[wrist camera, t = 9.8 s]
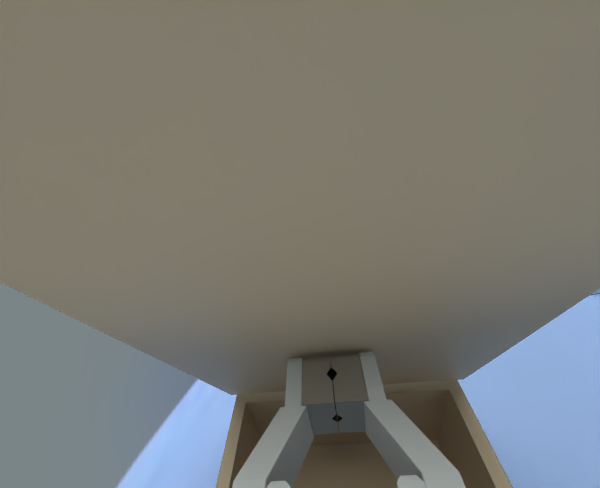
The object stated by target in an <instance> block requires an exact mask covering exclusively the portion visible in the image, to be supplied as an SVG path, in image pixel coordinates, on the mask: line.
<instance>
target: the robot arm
mask: <svg viewBox="0 0 600 488" xmlns="http://www.w3.org/2000/svg"><path fill="white" fill-rule="evenodd" d="M331 365H332V366H331ZM337 415H338V417H337ZM338 424H339V427H338ZM339 429H340V433H343V432H366V434H367V436H368V437H369V439H370V440H371V442H372V443H373V445H374V446H375V447H376V449H377V450H378V452H379V453H380V455H381V456H382V458H383V459H384V461H385V462H386V463H387V465H388V466H389V468H390V469H391V471H392V472H393V474H394V475H395V477H396V478H397V479H398V481H397V486H396V488H466V487H465V485H464V482H463V480H462V477H461V475H460V472H459V471H458V470H457V469H456V468H455V467H454V466H453V465H452V464H451V462H450V461H449V460H448V459H447V458H446V457H445V456H444V455H443V454H442V453H441V452H440V451H439V450H438V449H437V448H436V446H435V445H434V444H433V443H432V442H431V441H430V440H429V439H428V438H427V437H426V436H425V435H424V434H423V433H422V432H421V430H420V429H419V428H418V427H417V426H416V425H415V424H414V423H413V422H412V421H411V420H410V419H409V418H408V417H407V416H406V414H405V413H404V412H403V411H402V410H401V409H400V408H399V407H398V406H397V405H396V404H395V403H394V402H393V401H392V400H387V398H386V395H385V391H384V387H383V383H382V380H381V376H380V372H379V369H378V365H377V361H376V358H375V354H374V353H373V352H365V353H359V354H358V353H350V354H341V355H331V359H330V356H324V357H310V358H295V359H289V360H288V363H287V377H286V393H285V407H280V409H279V410H278V412H277V413H276V415H275V417H274V418H273V420H272V421H271V423H270V424H269V426H268V428H267V429H266V431H265V432H264V434H263V435H262V437H261V439H260V440H259V442H258V443H257V445H256V446H255V448H254V450H253V451H252V453H251V454H250V456H249V457H248V459H247V461H246V462H245V464H244V465H243V467H242V468H241V470H240V472H239V473H238V475H237V476H236V478H235V479H234V481H233V486H232V488H292V487H293V485H294V482H295V480H296V478H297V475H298V473H299V471H300V469H301V466H302V464H303V462H304V459H305V457H306V455H307V452H308V450H309V448H310V446H311V443H312V441H313V439H314V435H318V434H329V433H339Z"/></svg>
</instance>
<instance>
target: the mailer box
mask: <svg viewBox="0 0 600 488" xmlns="http://www.w3.org/2000/svg"><path fill="white" fill-rule="evenodd" d="M383 387H384V391H385V395H386V398H387V400H392V401H393V402H394V403H395V404H396V405H397V406H398V407H399V408H400V409H401V410H402V411H403V412H404V413H405V414H406V416H407V417H408V418H409V419H410V420H411V421H412V422H413V423H414V424H415V425H416V426H417V427H418V428H419V429H420V430H421V432H422V433H423V434H424V435H425V436H426V437H427V438H428V439H429V440H430V441H431V442H432V443H433V444H434V445H435V446H436V448H437V449H438V450H439V451H440V452H441V453H442V454H443V455H444V456H445V457H446V458H447V459H448V460H449V461H450V462H451V464H452V465H453V466H454V467H455V468H456V469H457V470H458V471H459V472H460V475H461V477H462V480H463V482H464V485H465V487H466V488H513V487H512V485H511V483H510V481H509V479H508V477H507V475H506V473H505V472H504V470H503V468H502V466H501V464H500V462H499V460H498V458H497V456H496V454H495V452H494V450H493V448H492V446H491V444H490V443H489V441H488V439H487V437H486V435H485V433H484V431H483V429H482V427H481V425H480V423H479V421H478V419H477V417H476V415H475V414H474V412H473V410H472V408H471V406H470V404H469V402H468V400H467V398H466V396H465V394H464V392H463V390H462V388H461V386H460V384H459V383H458V381H457V380H443V381H428V382H413V383H399V384H384V385H383ZM285 393H286V391H280V392H265V393H251V394H237V397H236V401H235V406H234V410H233V415H232V419H231V423H230V428H229V432H228V436H227V441H226V445H225V449H224V454H223V458H222V462H221V467H220V471H219V476H218V480H217V484H216V488H232V486H233V481H234V479H235V478H236V476H237V475H238V473H239V472H240V470H241V468H242V467H243V465H244V464H245V462H246V461H247V459H248V457H249V456H250V454H251V453H252V451H253V450H254V448H255V446H256V445H257V443H258V442H259V440H260V439H261V437H262V435H263V434H264V432H265V431H266V429H267V428H268V426H269V424H270V423H271V421H272V420H273V418H274V417H275V415H276V413H277V412H278V410H279V409H280V407H285ZM337 417H338V415H337ZM338 427H339V424H338ZM397 481H398V479H397V478H396V477H395V475H394V474H393V472H392V471H391V469H390V468H389V466H388V465H387V463H386V462H385V461H384V459H383V458H382V456H381V455H380V453H379V452H378V450H377V449H376V447H375V446H374V445H373V443H372V442H371V440H370V439H369V437H368V436H367V434H366V432H343V433H340V429H339V433H329V434H318V435H314V439H313V441H312V443H311V446H310V448H309V450H308V452H307V455H306V457H305V459H304V462H303V464H302V466H301V469H300V471H299V473H298V475H297V478H296V480H295V482H294V485H293V487H292V488H396V486H397Z"/></svg>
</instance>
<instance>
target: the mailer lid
mask: <svg viewBox="0 0 600 488" xmlns="http://www.w3.org/2000/svg"><path fill="white" fill-rule="evenodd" d="M0 283H2V284H4V285H6V286H8V287H10V288H13V289H15V290H17V291H19V292H21V293H23V294H25V295H27V296H29V297H31V298H33V299H35V300H37V301H39V302H41V303H44V304H46V305H48V306H50V307H52V308H54V309H56V310H58V311H60V312H62V313H64V314H66V315H68V316H70V317H72V318H74V319H76V320H78V321H80V322H83V323H85V324H87V325H89V326H91V327H93V328H95V329H97V330H99V331H101V332H103V333H105V334H107V335H109V336H111V337H113V338H115V339H118V340H120V341H122V342H124V343H126V344H128V345H130V346H132V347H134V348H136V349H138V350H140V351H142V352H144V353H146V354H149V355H150V356H153V357H155V358H157V359H159V360H161V361H163V362H165V363H167V364H169V365H171V366H173V367H175V368H177V369H179V370H181V371H183V372H185V373H187V374H189V375H192V376H194V377H196V378H198V379H200V380H202V381H204V382H206V383H208V384H210V385H212V386H214V387H216V388H218V389H220V390H222V391H224V392H227V393H229V394H231V395H236V394H251V393H265V392H280V391H286V377H287V363H288V360H289V359H295V358H310V357H324V356H330V359H331V355H341V354H350V353H358V354H359V353H365V352H373V353H374V354H375V358H376V361H377V365H378V369H379V372H380V376H381V380H382V383H383V385H384V384H399V383H413V382H428V381H443V380H458V379H465V378H466V377H468V376H469V375H471V374H472V373H474V372H475V371H477V370H478V369H480V368H481V367H483V366H484V365H486V364H487V363H489V362H490V361H492V360H493V359H495V358H496V357H498V356H499V355H501V354H502V353H504V352H505V351H507V350H508V349H510V348H511V347H513V346H514V345H516V344H517V343H519V342H520V341H522V340H523V339H525V338H526V337H528V336H529V335H531V334H532V333H534V332H535V331H537V330H538V329H540V328H541V327H543V326H544V325H546V324H547V323H549V322H550V321H552V320H553V319H555V318H556V317H558V316H559V315H560V314H562V313H563V312H565V311H566V310H568V309H569V308H571V307H572V306H574V305H575V304H577V303H578V302H580V301H581V300H583V299H584V298H586V297H587V296H589V295H590V294H592V293H593V292H595V291H596V290H598V289H599V288H600V0H0ZM331 366H332V365H331Z"/></svg>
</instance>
